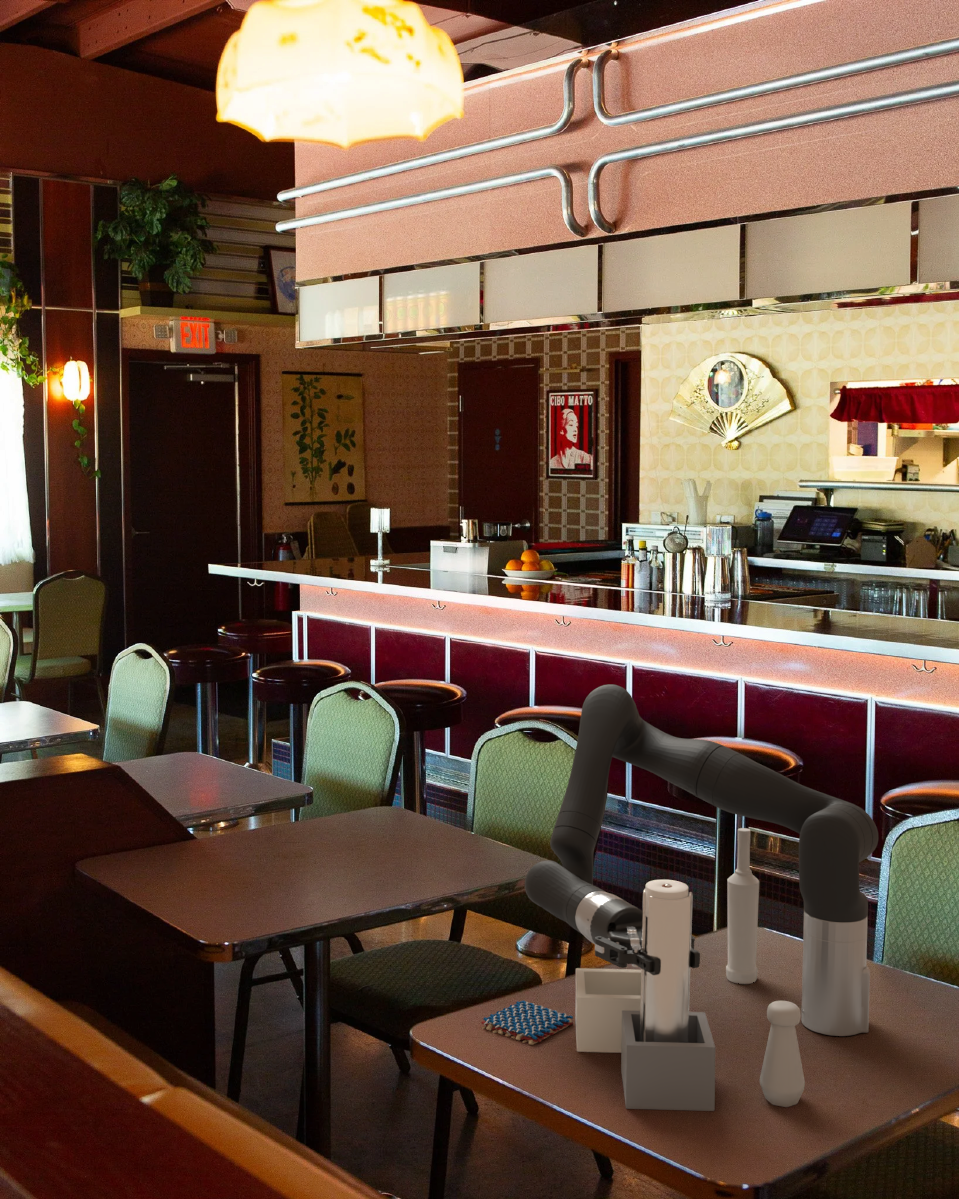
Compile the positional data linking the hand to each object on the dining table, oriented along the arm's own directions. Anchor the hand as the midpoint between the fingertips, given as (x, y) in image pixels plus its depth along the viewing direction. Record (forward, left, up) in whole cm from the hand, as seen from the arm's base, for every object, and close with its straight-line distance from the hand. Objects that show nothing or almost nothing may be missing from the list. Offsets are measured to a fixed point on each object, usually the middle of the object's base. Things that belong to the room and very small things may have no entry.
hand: (677, 964), depth 171 cm
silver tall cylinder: (+1, -2, -15) cm, 15 cm away
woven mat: (+20, -22, -19) cm, 35 cm away
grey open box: (+1, -2, -18) cm, 18 cm away
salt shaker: (-14, 0, -18) cm, 23 cm away
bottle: (-15, -43, -18) cm, 49 cm away
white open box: (+7, -19, -18) cm, 27 cm away
